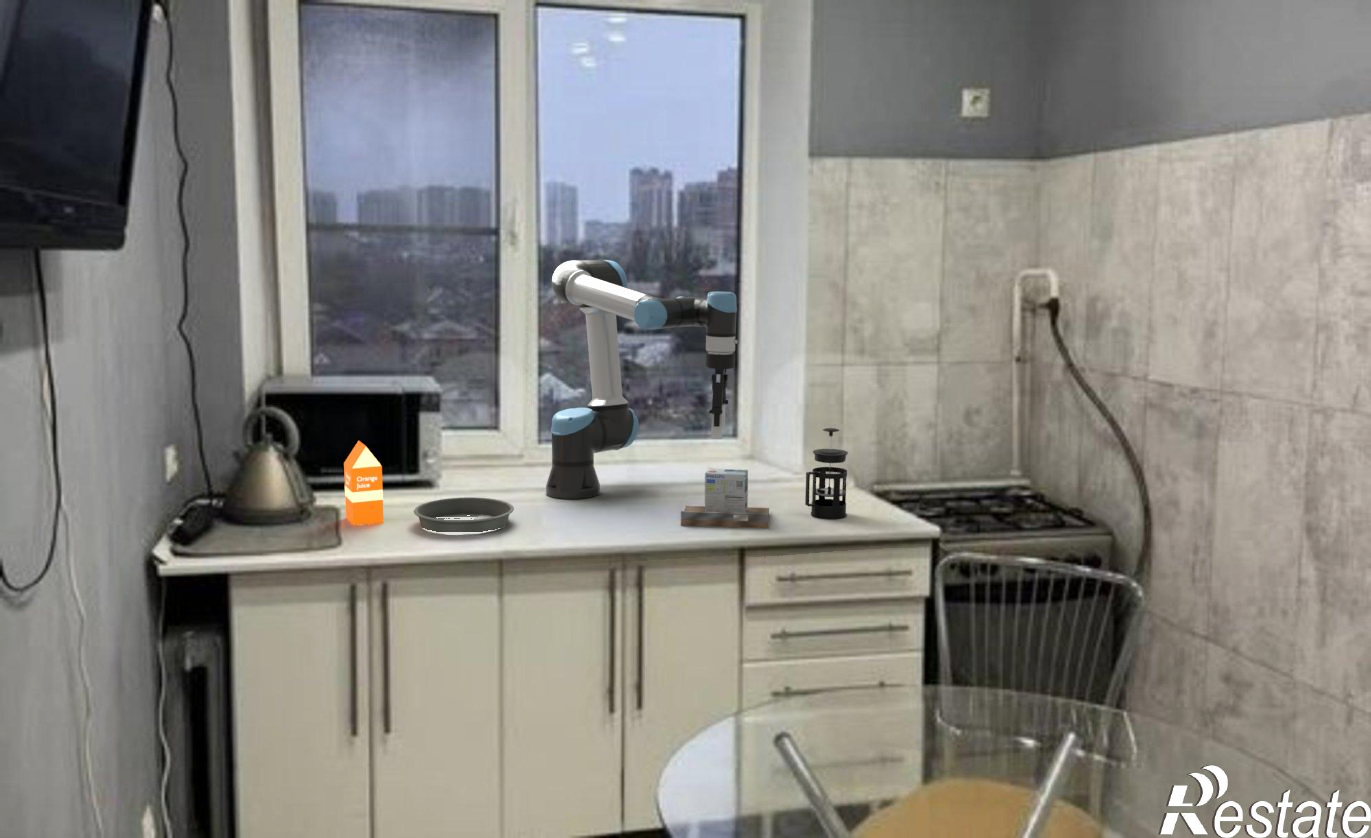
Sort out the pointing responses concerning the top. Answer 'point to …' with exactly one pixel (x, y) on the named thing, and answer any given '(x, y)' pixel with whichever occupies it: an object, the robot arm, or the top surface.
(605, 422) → the robot arm
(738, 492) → the light bulb box
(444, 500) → the cake pan
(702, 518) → the shelf board
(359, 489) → the orange juice
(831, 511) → the french press
